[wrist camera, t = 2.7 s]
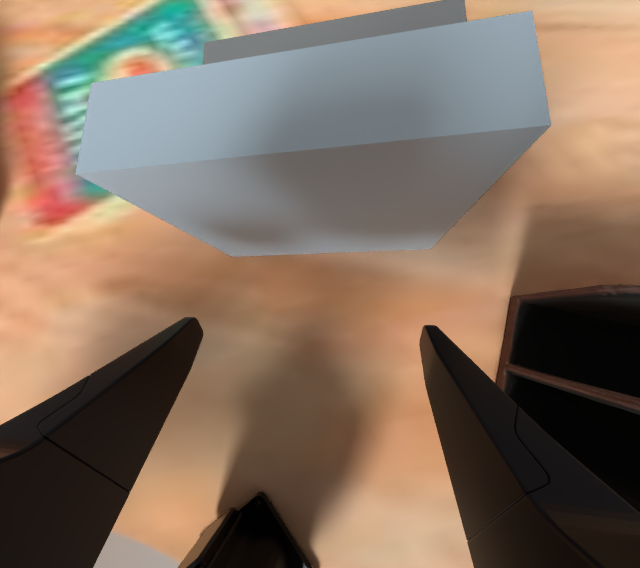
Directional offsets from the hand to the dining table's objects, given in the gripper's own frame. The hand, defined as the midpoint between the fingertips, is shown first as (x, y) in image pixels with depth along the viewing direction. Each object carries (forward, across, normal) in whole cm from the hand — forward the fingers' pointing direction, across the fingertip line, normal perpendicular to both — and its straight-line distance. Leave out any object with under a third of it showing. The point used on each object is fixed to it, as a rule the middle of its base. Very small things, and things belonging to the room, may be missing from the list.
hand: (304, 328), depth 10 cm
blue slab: (+12, 0, +1) cm, 12 cm away
